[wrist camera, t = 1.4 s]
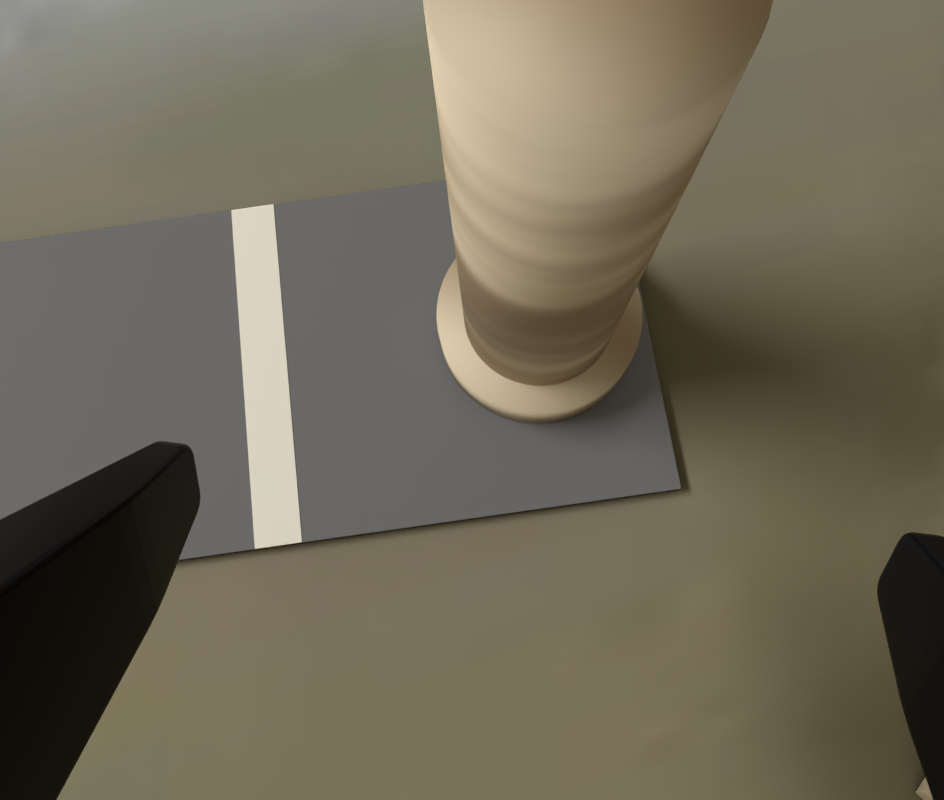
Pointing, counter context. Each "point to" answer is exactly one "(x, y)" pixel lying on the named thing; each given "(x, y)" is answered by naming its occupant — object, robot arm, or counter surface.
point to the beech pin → (568, 178)
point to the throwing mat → (289, 376)
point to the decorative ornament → (924, 791)
